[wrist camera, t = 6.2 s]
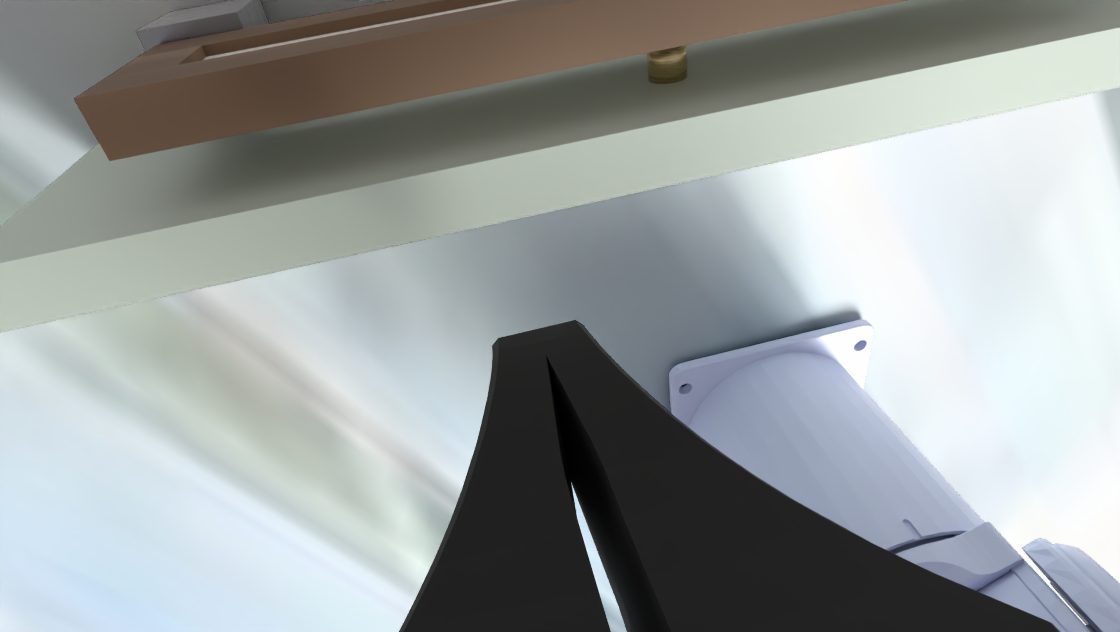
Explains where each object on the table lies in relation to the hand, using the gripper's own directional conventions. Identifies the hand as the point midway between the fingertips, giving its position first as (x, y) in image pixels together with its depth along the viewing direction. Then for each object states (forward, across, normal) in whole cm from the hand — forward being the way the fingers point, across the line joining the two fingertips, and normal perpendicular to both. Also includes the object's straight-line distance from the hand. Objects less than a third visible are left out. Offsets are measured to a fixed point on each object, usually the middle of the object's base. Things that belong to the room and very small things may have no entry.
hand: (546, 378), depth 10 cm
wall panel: (+10, -4, -3) cm, 11 cm away
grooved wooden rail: (+7, -4, -4) cm, 9 cm away
